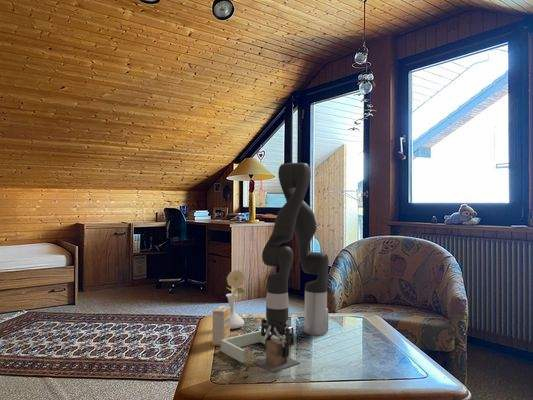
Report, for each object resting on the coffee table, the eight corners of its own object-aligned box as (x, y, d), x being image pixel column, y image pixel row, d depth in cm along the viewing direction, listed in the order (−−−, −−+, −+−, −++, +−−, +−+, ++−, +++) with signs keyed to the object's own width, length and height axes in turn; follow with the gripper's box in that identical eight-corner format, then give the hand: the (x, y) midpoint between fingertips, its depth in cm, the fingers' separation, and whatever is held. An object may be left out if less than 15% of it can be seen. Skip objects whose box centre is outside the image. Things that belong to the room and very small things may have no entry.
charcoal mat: (280, 354, 141) (280, 353, 141) (299, 363, 134) (299, 362, 134) (253, 362, 134) (253, 361, 134) (272, 372, 126) (272, 371, 126)
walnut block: (277, 358, 137) (277, 337, 137) (287, 362, 133) (287, 341, 133) (266, 361, 134) (266, 340, 134) (275, 366, 130) (276, 344, 130)
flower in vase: (212, 327, 171) (213, 269, 171) (229, 321, 180) (230, 266, 181) (236, 333, 163) (236, 272, 164) (252, 326, 173) (253, 269, 173)
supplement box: (224, 346, 148) (224, 311, 149) (211, 345, 149) (212, 310, 150) (230, 339, 157) (230, 305, 157) (218, 338, 158) (219, 305, 158)
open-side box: (260, 340, 155) (260, 330, 155) (283, 350, 145) (283, 339, 145) (220, 351, 144) (220, 339, 144) (242, 362, 133) (242, 350, 134)
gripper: (300, 308, 131) (299, 357, 131) (272, 299, 142) (271, 345, 142) (282, 311, 126) (282, 363, 126) (255, 302, 137) (254, 350, 137)
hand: (276, 353), depth 134 cm, fingers open, 8 cm apart
